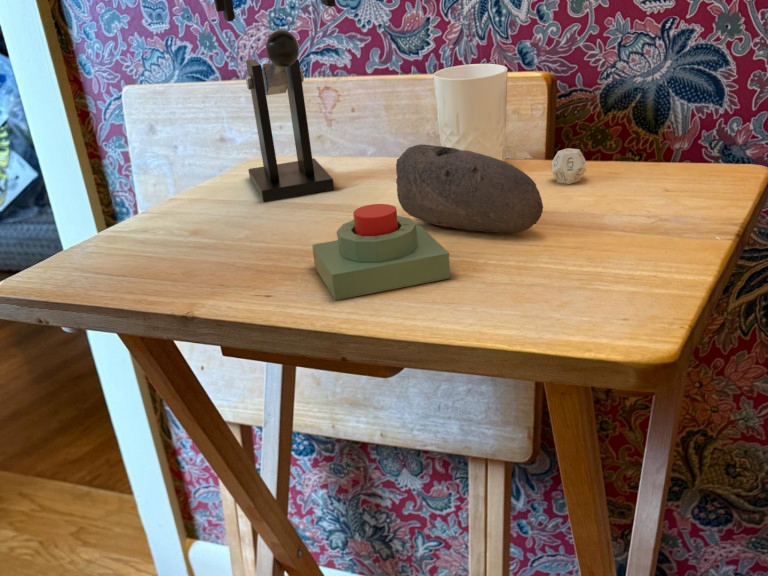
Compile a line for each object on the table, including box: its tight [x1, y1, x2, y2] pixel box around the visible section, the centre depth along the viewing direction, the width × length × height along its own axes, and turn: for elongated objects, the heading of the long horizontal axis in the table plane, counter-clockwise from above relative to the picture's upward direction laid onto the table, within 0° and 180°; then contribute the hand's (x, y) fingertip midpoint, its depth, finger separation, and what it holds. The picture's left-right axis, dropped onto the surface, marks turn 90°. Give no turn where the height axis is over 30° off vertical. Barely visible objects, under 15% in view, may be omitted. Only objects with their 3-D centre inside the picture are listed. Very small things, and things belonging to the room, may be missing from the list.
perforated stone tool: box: [395, 144, 544, 234], centre depth 82 cm, size 15×5×7 cm, turn 51°
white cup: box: [432, 63, 509, 162], centre depth 97 cm, size 8×8×10 cm
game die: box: [550, 147, 587, 185], centre depth 93 cm, size 4×4×3 cm
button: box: [352, 203, 398, 236], centre depth 74 cm, size 4×4×2 cm
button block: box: [311, 214, 451, 301], centre depth 76 cm, size 10×8×4 cm
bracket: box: [245, 58, 335, 203], centre depth 98 cm, size 10×8×13 cm
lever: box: [262, 29, 300, 96], centre depth 91 cm, size 12×3×3 cm, turn 16°
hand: (279, 12), depth 85 cm, fingers open, 9 cm apart
